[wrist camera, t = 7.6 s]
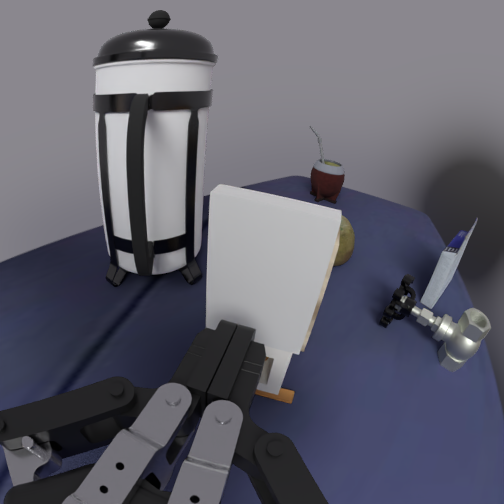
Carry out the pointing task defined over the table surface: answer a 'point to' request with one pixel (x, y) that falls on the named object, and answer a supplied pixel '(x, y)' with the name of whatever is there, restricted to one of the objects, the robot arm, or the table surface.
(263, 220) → the white upright panel
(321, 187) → the mate gourd
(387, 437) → the table surface
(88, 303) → the table surface
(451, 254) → the ink box
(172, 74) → the coffee press
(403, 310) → the valve
